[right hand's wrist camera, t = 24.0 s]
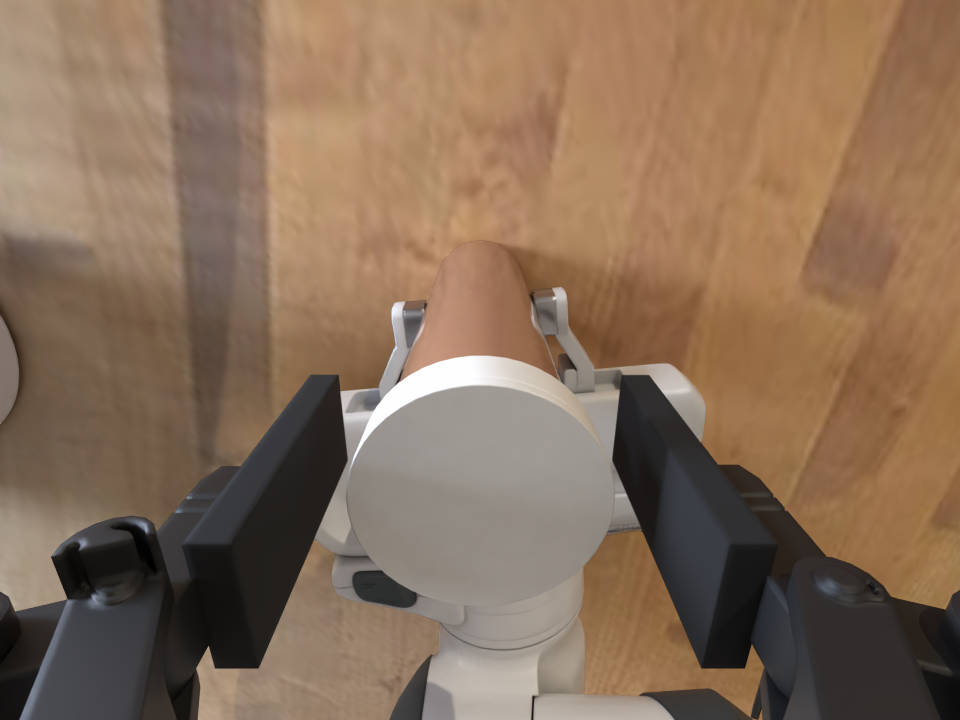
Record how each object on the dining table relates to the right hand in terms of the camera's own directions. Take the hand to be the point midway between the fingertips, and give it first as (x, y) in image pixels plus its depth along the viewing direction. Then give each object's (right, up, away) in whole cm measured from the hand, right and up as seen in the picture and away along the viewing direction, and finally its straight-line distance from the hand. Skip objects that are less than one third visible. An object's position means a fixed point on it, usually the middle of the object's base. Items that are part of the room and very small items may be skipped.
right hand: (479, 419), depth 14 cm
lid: (0, -1, -3) cm, 3 cm away
